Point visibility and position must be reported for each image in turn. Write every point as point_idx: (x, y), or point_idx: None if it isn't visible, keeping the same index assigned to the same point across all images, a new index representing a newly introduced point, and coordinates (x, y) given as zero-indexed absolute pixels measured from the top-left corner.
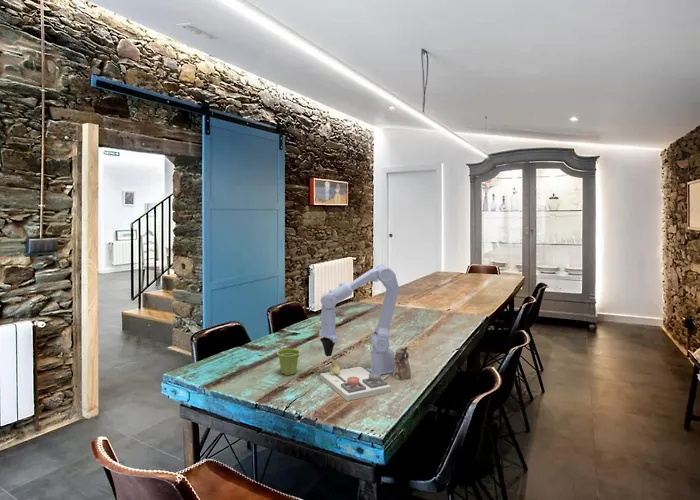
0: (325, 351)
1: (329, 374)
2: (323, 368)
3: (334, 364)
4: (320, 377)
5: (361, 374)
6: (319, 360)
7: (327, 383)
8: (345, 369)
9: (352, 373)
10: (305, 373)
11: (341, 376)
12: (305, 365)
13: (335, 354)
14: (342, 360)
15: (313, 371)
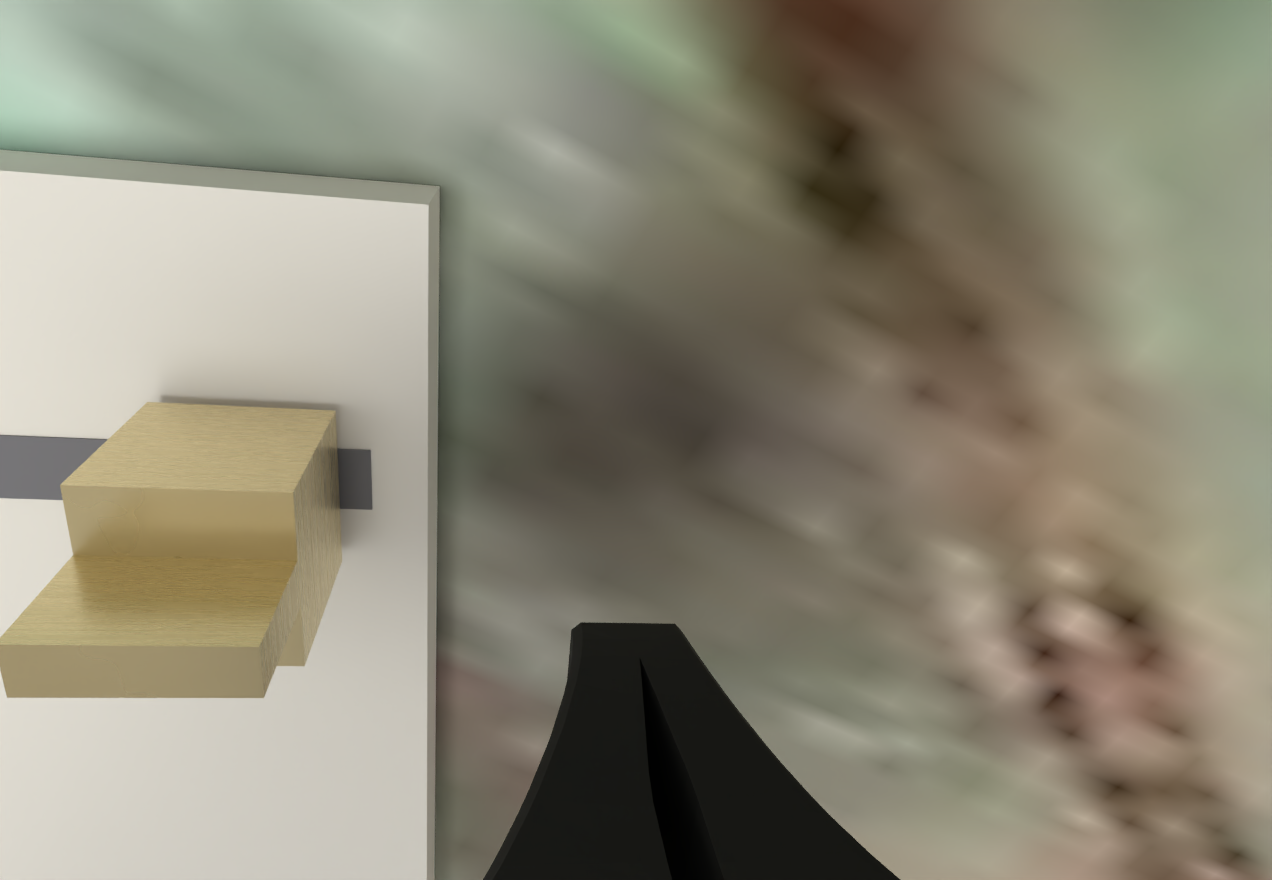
0: (623, 705)
1: (268, 362)
2: (894, 485)
3: (118, 582)
4: (425, 188)
5: (19, 849)
6: (1259, 587)
7: (1, 153)
8: (404, 733)
9: (138, 752)
10: (895, 40)
11: (38, 523)
12: (1266, 267)
13: (1262, 864)
14: (990, 853)
15: (884, 253)
